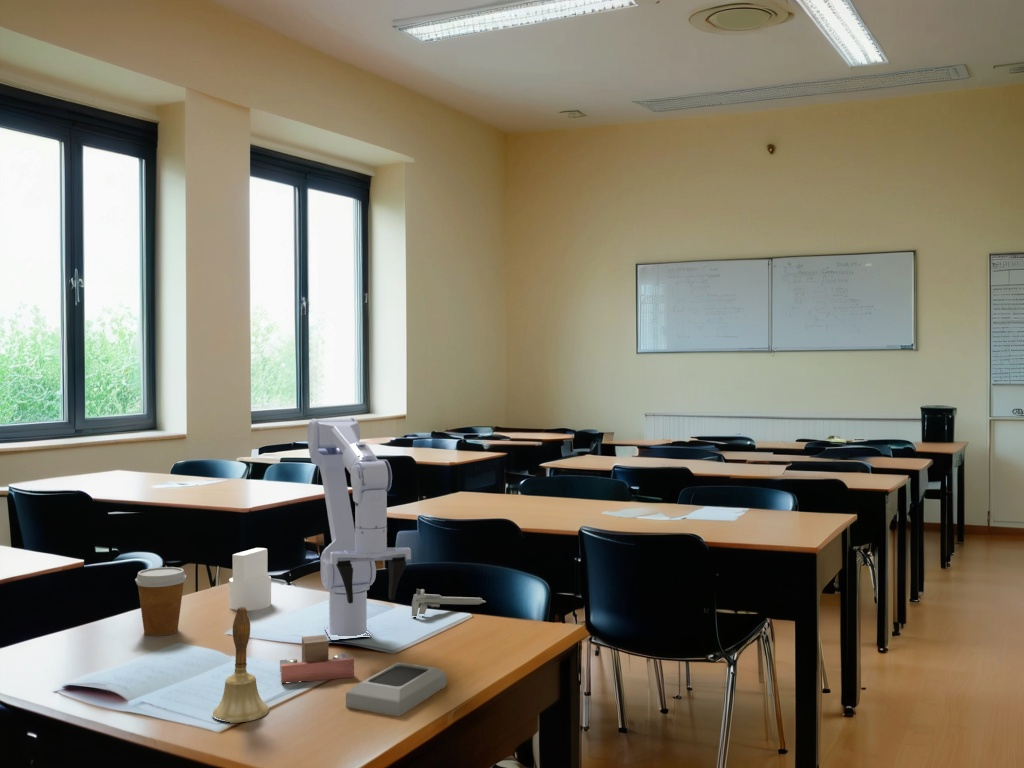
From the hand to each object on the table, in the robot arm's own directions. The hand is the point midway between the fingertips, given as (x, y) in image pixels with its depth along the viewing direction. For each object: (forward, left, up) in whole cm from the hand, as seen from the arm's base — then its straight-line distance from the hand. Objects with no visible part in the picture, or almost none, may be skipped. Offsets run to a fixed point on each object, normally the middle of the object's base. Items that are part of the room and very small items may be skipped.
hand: (371, 600), depth 169 cm
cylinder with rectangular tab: (-44, -19, -10) cm, 49 cm away
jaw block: (+8, -11, -10) cm, 17 cm away
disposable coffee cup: (-28, -37, -10) cm, 47 cm away
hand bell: (+23, -24, -10) cm, 35 cm away
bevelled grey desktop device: (+23, 0, -11) cm, 25 cm away
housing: (+8, -11, -10) cm, 17 cm away
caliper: (-26, +22, -10) cm, 36 cm away
